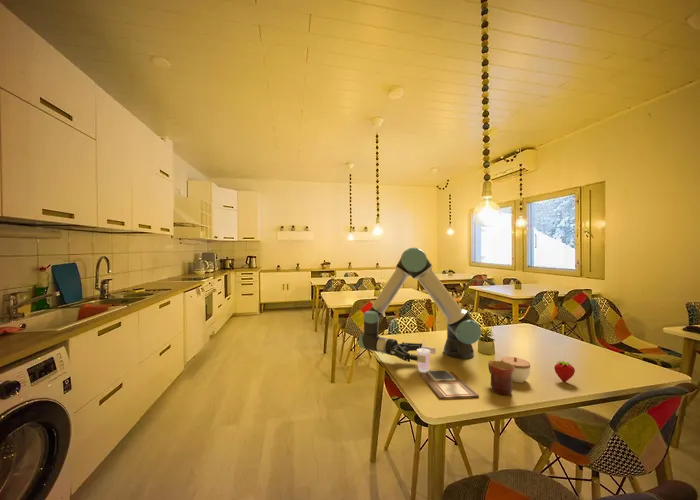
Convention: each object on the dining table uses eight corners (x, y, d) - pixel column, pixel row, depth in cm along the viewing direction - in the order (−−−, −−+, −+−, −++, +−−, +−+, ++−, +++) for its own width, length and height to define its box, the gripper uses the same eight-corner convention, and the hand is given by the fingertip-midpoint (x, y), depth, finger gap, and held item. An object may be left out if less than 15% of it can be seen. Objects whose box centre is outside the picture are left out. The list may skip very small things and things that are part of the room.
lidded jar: (530, 387, 110) (530, 364, 110) (500, 381, 116) (500, 358, 116) (530, 377, 119) (530, 356, 119) (501, 372, 125) (501, 351, 125)
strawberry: (579, 385, 113) (579, 360, 113) (561, 385, 112) (561, 360, 112) (567, 378, 119) (566, 355, 119) (550, 379, 118) (550, 355, 118)
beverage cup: (432, 370, 126) (433, 339, 126) (426, 374, 122) (426, 342, 122) (420, 366, 130) (420, 336, 131) (414, 370, 126) (414, 339, 126)
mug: (520, 396, 103) (519, 369, 103) (497, 397, 102) (497, 369, 102) (499, 382, 115) (499, 357, 115) (479, 382, 114) (479, 357, 114)
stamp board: (452, 373, 123) (452, 369, 123) (478, 397, 102) (479, 392, 102) (419, 374, 121) (419, 370, 121) (439, 399, 100) (439, 394, 100)
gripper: (398, 347, 146) (438, 355, 134) (375, 361, 126) (420, 373, 114) (398, 333, 147) (438, 340, 135) (375, 345, 126) (420, 354, 114)
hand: (430, 355), depth 124 cm, fingers open, 13 cm apart
